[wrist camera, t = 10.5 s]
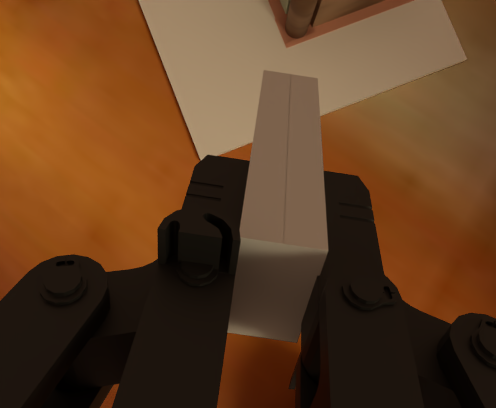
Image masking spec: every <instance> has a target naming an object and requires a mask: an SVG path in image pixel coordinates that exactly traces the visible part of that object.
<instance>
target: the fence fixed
mask: <svg viewBox="0 0 496 408" xmlns="http://www.w3.org/2000/svg"><path fill="white" fill-rule="evenodd" d="M382 1H385V0H291V1H290V6H289V10H288V15H287V20H286V24H285V30H286V33H287V34H288V35H289V36H290V37H292V38H295V39H298V38H301V37H303V36H304V35H305V34H306V33H307V30H308V27H309V24H310V23H311V26H312V27H315V26H318V25H321V24H323V23H326V22H329V21H331V20H334V19H337V18H339V17H342V16H345V15H347V14H350V13H353V12H355V11H358V10H361V9H363V8H366V7H369V6H372V5H374V4H377V3H380V2H382Z"/></svg>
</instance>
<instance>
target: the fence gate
mask: <svg viewBox="0 0 496 408" xmlns="http://www.w3.org/2000/svg"><path fill="white" fill-rule="evenodd" d="M290 1H291V0H280V2H281V5H282V7H283V9H284V11H285V14H288V10H289V6H290Z"/></svg>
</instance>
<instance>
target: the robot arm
mask: <svg viewBox="0 0 496 408" xmlns="http://www.w3.org/2000/svg"><path fill="white" fill-rule="evenodd" d="M371 209H372V205H371V199H370V194H369V190H368V189H367V188H366V186H365V185H364V184H363V182H362V181H361V180H360V178H359V177H358V176H355V175H348V174H342V173H335V172H329V171H323V155H322V139H321V123H320V106H319V90H318V78H313V77H307V76H300V75H294V74H287V73H281V72H274V71H268V70H264V71H263V78H262V85H261V91H260V98H259V104H258V111H257V118H256V124H255V131H254V137H253V144H252V151H251V157H250V161H247V160H240V159H234V158H227V157H221V156H214V155H207V156H206V157H204V158H203V159H202V160H201V161H200V162H199V163H198V164H197V165H196V166H195V167H194V171H193V174H192V177H191V180H190V184H189V187H188V190H187V193H186V196H185V200H184V203H183V206H182V209H181V210H178V211H175V212H173V213H172V214H170V215H169V216H167V217H166V218H164V220H163V221H162V223H161V224H160V226H159V227H158V259H157V260H156V261H154V262H153V263H150V264H148V265H145V266H143V267H139V268H134V269H129V270H120V271H112V272H105V270H104V269H103V267H102V266H101V264H99V263H98V262H96V261H94V260H92V259H91V258H89V257H84V256H79V255H64V256H57V257H54V258H51V259H49V260H46V261H43V262H41V263H40V264H38V265H37V266H36V267H34V268H33V269H32V270H30V271H29V272H28V273H27V274H26V275H25V276H24V277H23V278H22V279H21V280H20V281H19V282H18V283H17V284H16V285H15V286H14V287H13V288H12V289H11V290H10V291H9V292H8V293H7V295H6V296H5V297H4V298H3V299H2V300H1V301H0V408H100V406H101V404H102V403H103V401H104V400H105V398H106V396H107V395H108V393H109V391H110V390H111V388H112V386H113V385H114V384H119V387H118V390H117V394H116V397H115V400H114V403H113V406H112V408H217V402H218V394H219V387H220V380H221V373H222V366H223V359H224V352H225V345H226V338H227V332H228V333H235V334H242V335H248V336H255V337H262V338H268V339H275V340H282V341H289V342H295V343H297V341H298V338H299V335H300V332H301V353H300V355H299V358H298V361H297V364H296V367H295V369H294V372H293V375H292V378H291V382H290V386H289V389H295V386H296V398H295V408H496V319H495V318H493V317H490V316H488V315H485V314H476V313H469V314H465V315H461V316H459V317H458V318H457V319H456V320H455V321H454V322H453V323H452V324H450V323H447V322H445V321H443V320H440V319H438V318H436V317H433V316H431V315H428V314H426V313H424V312H421V311H419V310H418V309H416V308H414V307H412V306H410V305H409V304H407V303H406V302H405V301H403V300H402V298H401V296H400V294H399V291H398V289H397V287H396V286H395V285H394V284H393V283H392V282H391V281H390V280H389V279H388V277H386V276H385V275H384V271H383V266H382V260H381V255H380V249H379V244H378V238H377V232H376V227H375V224H374V216H373V210H371Z"/></svg>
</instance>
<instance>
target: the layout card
mask: <svg viewBox="0 0 496 408" xmlns="http://www.w3.org/2000/svg"><path fill="white" fill-rule="evenodd" d="M138 1H139V3H140V6H141V8H142V11H143V13H144V16H145V19H146V21H147V24H148V26H149V29H150V31H151V34H152V37H153V39H154V42H155V44H156V47H157V49H158V52H159V55H160V57H161V60H162V62H163V65H164V67H165V70H166V73H167V75H168V78H169V80H170V83H171V85H172V88H173V91H174V93H175V96H176V98H177V101H178V103H179V106H180V109H181V111H182V114H183V116H184V119H185V121H186V124H187V127H188V129H189V132H190V134H191V137H192V139H193V142H194V145H195V147H196V150H197V152H198V155H199V157H200V160H202V159H203V158H204V157H206V156H207V155H214V156H218V155H221V154H223V153H226V152H229V151H231V150H234V149H236V148H239V147H242V146H244V145H247V144H249V143H252V142H253V137H254V131H255V124H256V118H257V111H258V104H259V98H260V91H261V85H262V78H263V71H264V70H268V71H274V72H281V73H287V74H294V75H300V76H307V77H313V78H318V90H319V106H320V116H323V115H325V114H328V113H330V112H333V111H336V110H338V109H341V108H343V107H346V106H349V105H351V104H354V103H356V102H359V101H362V100H364V99H367V98H370V97H372V96H375V95H377V94H380V93H383V92H385V91H388V90H390V89H393V88H396V87H398V86H401V85H403V84H406V83H409V82H411V81H414V80H417V79H419V78H422V77H424V76H427V75H430V74H432V73H435V72H437V71H440V70H443V69H445V68H448V67H450V66H453V65H456V64H458V63H461V62H463V61H465V60H467V58H466V55H465V53H464V51H463V48H462V46H461V44H460V42H459V39H458V37H457V35H456V32H455V30H454V28H453V26H452V23H451V21H450V19H449V16H448V14H447V12H446V10H445V7H444V5H443V3H442V0H385V1H382V2H380V3H377V4H374V5H372V6H369V7H366V8H363V9H361V10H358V11H355V12H353V13H350V14H347V15H345V16H342V17H339V18H337V19H334V20H331V21H329V22H326V23H323V24H321V25H318V26H315V27H312V26H311V23H310V24H309V27H308V30H307V33H306V34H305V35H304V36H303V37H301V38H298V39H295V38H292V37H290V36H289V35H288V34H287V33H286V30H285V24H286V20H287V15H288V14H285V11H284V9H283V7H282V5H281V2H280V0H138Z"/></svg>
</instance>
